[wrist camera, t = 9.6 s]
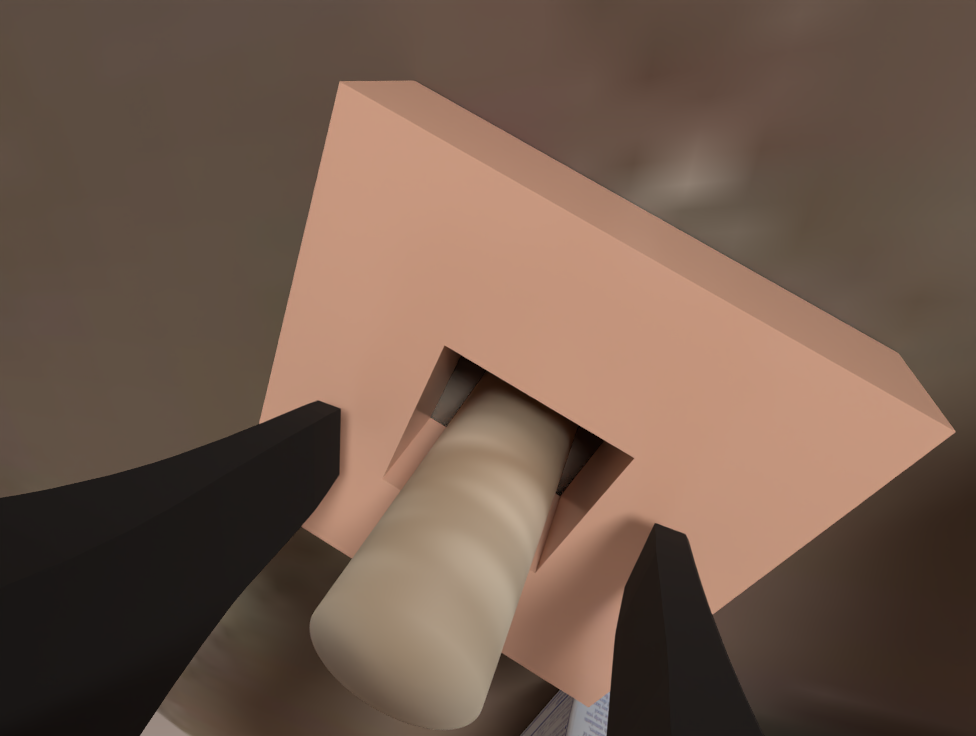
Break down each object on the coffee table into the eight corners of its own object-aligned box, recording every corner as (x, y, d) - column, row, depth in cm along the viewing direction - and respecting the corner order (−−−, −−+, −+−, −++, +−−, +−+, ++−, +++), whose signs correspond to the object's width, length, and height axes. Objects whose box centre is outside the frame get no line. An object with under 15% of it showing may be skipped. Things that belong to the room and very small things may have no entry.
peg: (594, 376, 14) (499, 652, 7) (566, 462, 15) (467, 754, 9) (486, 342, 14) (307, 569, 8) (470, 428, 16) (310, 678, 9)
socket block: (898, 353, 11) (956, 431, 9) (603, 619, 18) (588, 707, 15) (414, 80, 12) (340, 81, 9) (304, 434, 19) (243, 490, 16)
